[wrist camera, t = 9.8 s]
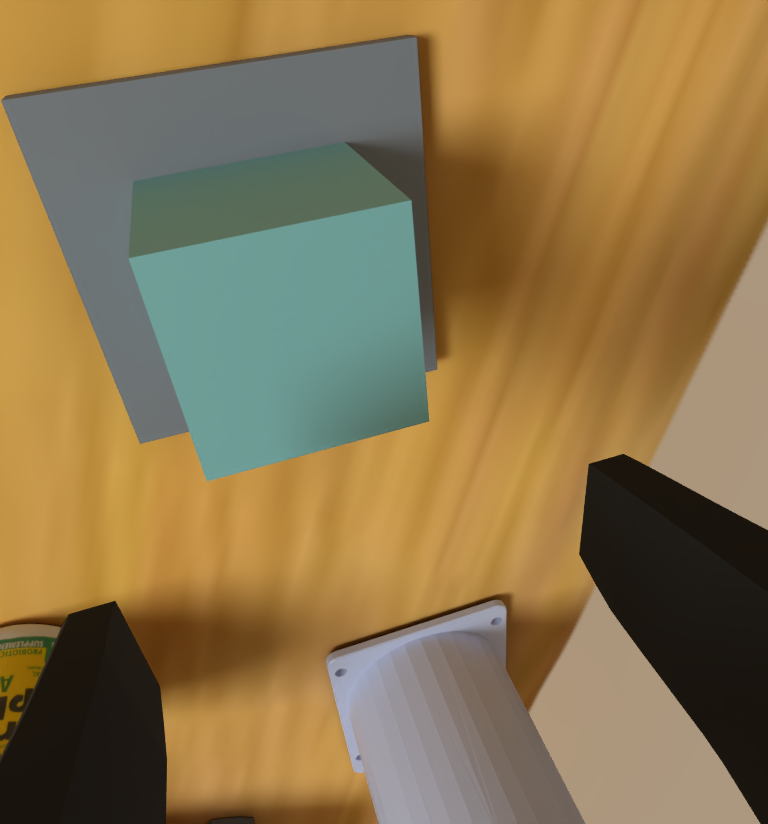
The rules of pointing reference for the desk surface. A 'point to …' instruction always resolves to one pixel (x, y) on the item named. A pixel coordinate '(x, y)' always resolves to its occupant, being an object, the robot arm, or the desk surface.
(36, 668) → the supplement bottle
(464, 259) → the desk surface
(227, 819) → the giant panda
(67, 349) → the desk surface
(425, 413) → the teal cube
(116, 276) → the slate mat
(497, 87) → the desk surface
